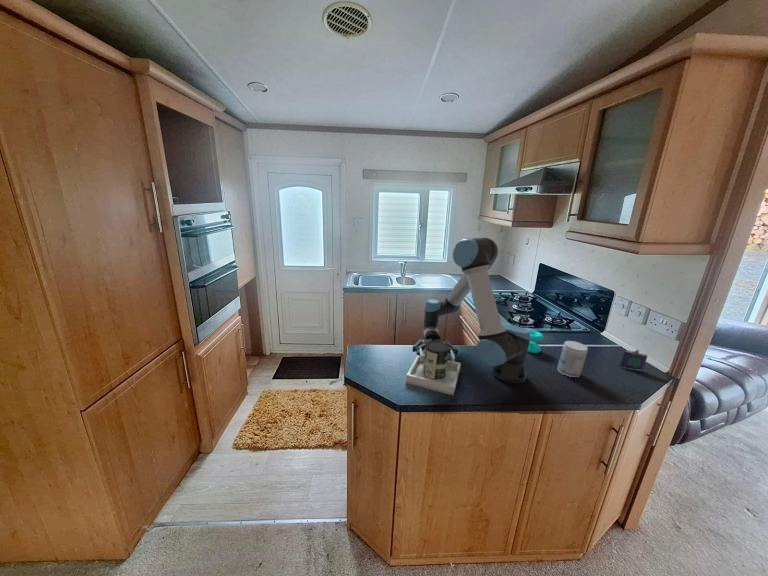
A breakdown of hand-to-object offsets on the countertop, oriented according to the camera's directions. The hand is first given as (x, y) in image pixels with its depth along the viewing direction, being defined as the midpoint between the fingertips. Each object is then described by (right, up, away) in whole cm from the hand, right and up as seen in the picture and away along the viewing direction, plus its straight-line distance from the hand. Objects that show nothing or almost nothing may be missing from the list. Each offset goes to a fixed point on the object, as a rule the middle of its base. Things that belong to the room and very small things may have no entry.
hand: (437, 359), depth 123 cm
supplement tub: (+65, -10, +15) cm, 67 cm away
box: (0, -9, +6) cm, 11 cm away
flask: (+100, -10, +21) cm, 103 cm away
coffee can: (0, -8, +6) cm, 10 cm away
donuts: (+57, -4, +36) cm, 68 cm away
